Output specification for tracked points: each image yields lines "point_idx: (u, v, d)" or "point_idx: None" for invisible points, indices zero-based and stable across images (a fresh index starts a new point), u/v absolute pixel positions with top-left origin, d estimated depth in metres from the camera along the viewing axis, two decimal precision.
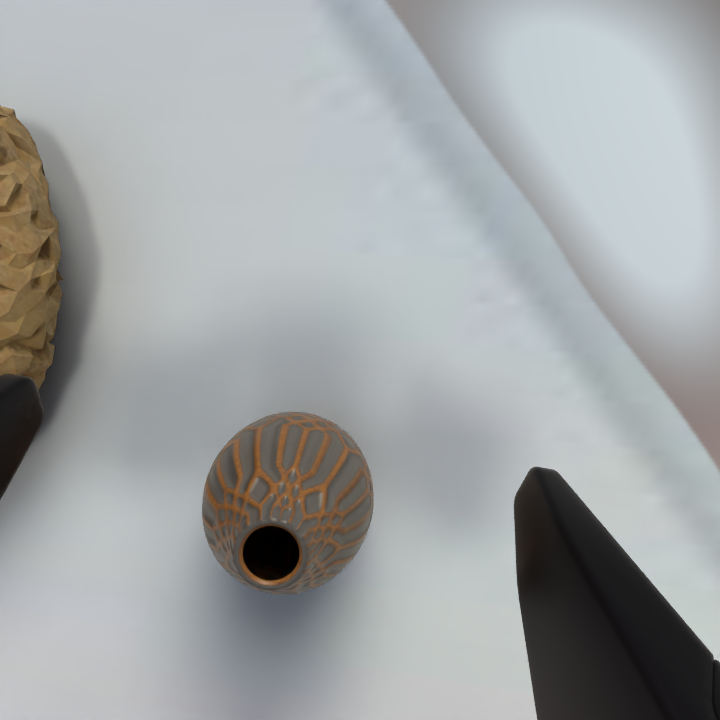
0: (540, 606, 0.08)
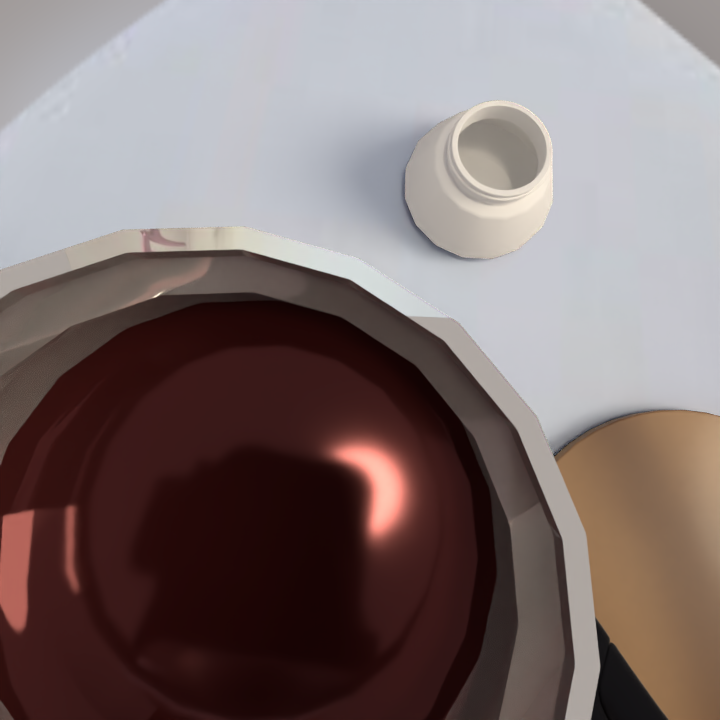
0: None
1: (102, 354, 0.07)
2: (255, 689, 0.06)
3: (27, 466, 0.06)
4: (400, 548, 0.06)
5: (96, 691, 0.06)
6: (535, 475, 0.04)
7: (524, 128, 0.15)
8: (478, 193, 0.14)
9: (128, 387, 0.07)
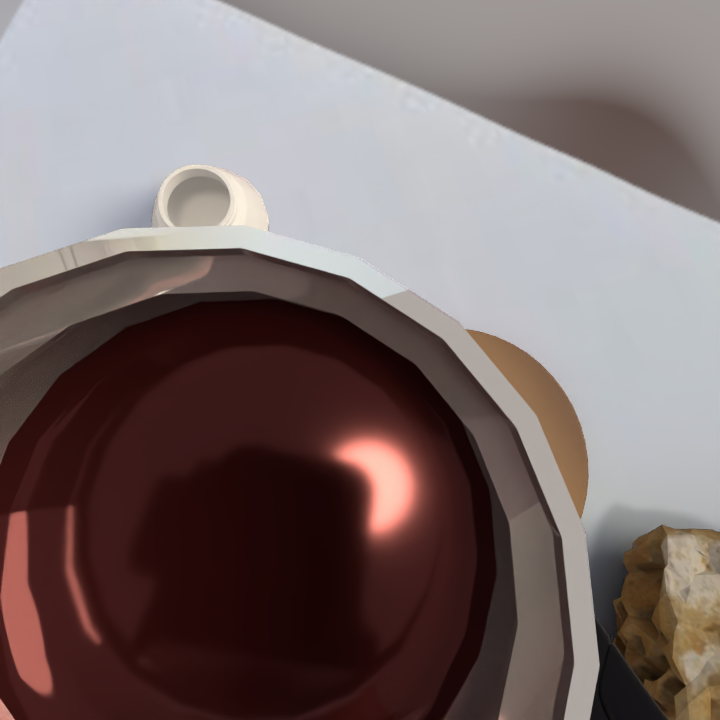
0: None
1: (102, 353, 0.07)
2: (255, 687, 0.06)
3: (27, 465, 0.06)
4: (400, 547, 0.06)
5: (96, 690, 0.06)
6: (535, 474, 0.04)
7: (213, 177, 0.20)
8: None
9: (128, 386, 0.07)
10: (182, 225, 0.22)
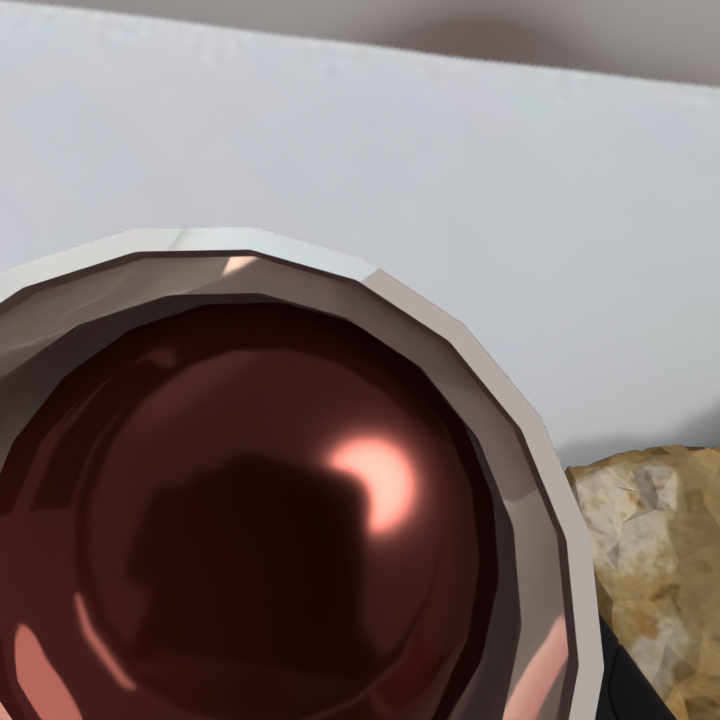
0: None
1: (107, 354, 0.07)
2: (257, 691, 0.06)
3: (30, 465, 0.06)
4: (402, 551, 0.06)
5: (96, 693, 0.06)
6: (539, 475, 0.04)
7: None
8: None
9: (132, 387, 0.07)
10: None
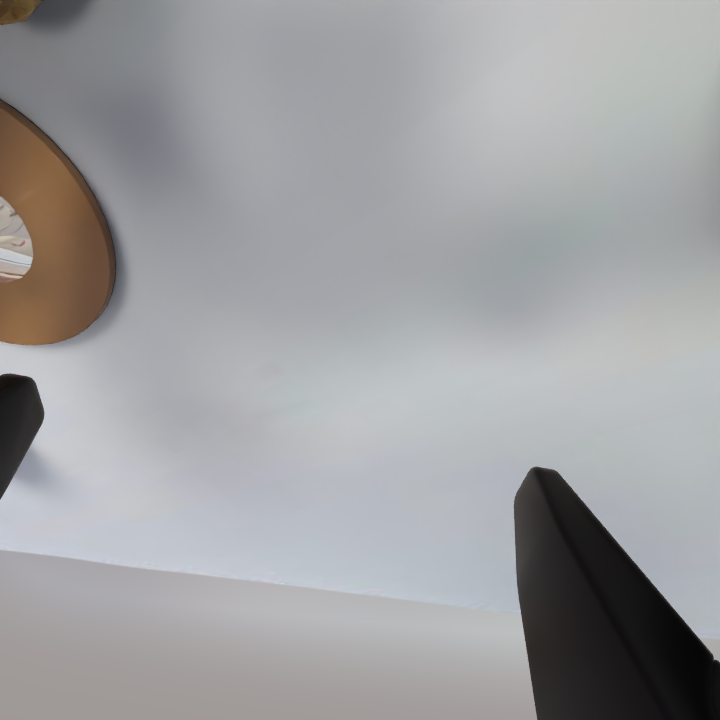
0: (540, 606, 0.08)
1: None
2: None
3: None
4: None
5: None
6: None
7: None
8: None
9: None
10: None
